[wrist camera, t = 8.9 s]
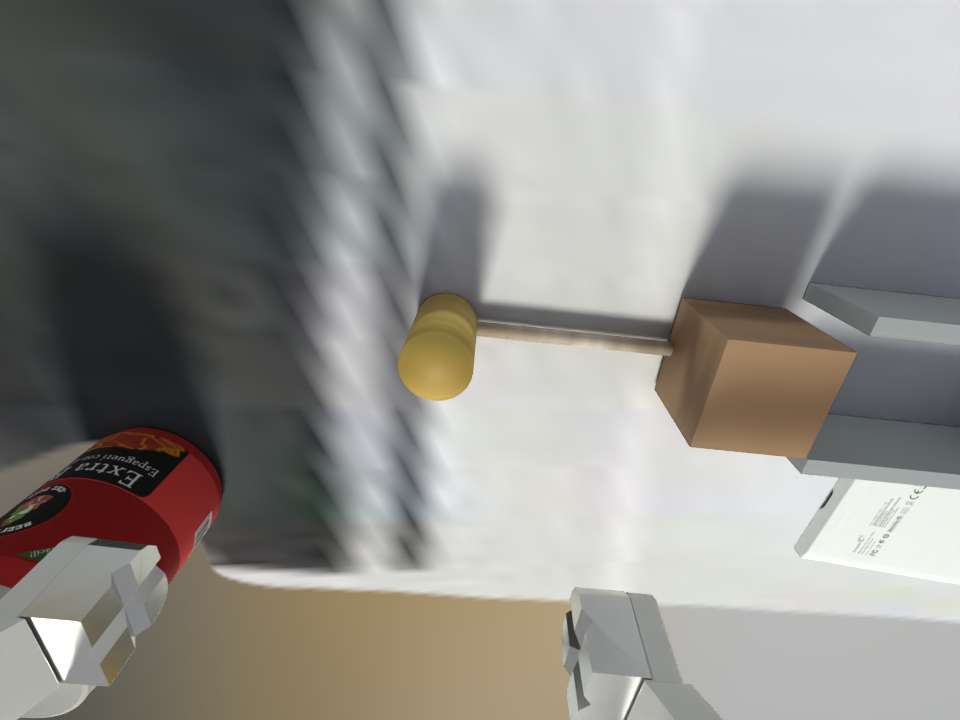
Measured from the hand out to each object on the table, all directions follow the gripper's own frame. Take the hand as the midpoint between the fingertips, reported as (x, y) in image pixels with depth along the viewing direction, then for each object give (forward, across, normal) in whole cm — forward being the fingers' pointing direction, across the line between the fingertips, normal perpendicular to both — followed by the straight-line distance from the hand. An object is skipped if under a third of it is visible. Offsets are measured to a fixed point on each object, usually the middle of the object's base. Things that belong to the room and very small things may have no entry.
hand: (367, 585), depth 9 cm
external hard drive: (+16, -29, +10) cm, 35 cm away
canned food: (+15, +16, +13) cm, 26 cm away
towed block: (+15, -7, +1) cm, 17 cm away
